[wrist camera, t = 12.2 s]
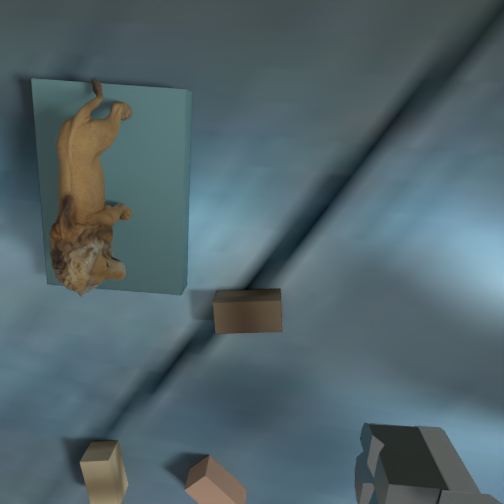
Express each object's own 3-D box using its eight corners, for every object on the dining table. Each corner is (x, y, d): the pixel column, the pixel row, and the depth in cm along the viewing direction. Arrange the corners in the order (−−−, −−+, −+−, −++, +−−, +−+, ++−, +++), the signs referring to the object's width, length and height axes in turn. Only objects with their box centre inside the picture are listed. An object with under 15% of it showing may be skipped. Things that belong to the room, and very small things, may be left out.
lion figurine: (152, 260, 36) (115, 302, 27) (92, 262, 36) (37, 304, 27) (129, 76, 32) (76, 57, 23) (61, 81, 32) (-16, 64, 23)
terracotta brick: (246, 487, 46) (245, 511, 43) (226, 501, 47) (223, 525, 44) (209, 453, 45) (205, 475, 42) (189, 467, 45) (184, 490, 43)
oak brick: (91, 440, 45) (79, 461, 42) (118, 439, 45) (108, 460, 42) (102, 484, 47) (91, 508, 44) (128, 483, 46) (119, 507, 44)
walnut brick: (280, 287, 39) (281, 300, 36) (281, 317, 40) (282, 331, 37) (217, 290, 39) (212, 303, 36) (219, 319, 40) (215, 333, 37)
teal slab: (191, 92, 34) (185, 89, 32) (186, 284, 39) (181, 295, 37) (47, 81, 34) (31, 78, 32) (60, 274, 39) (47, 284, 37)
